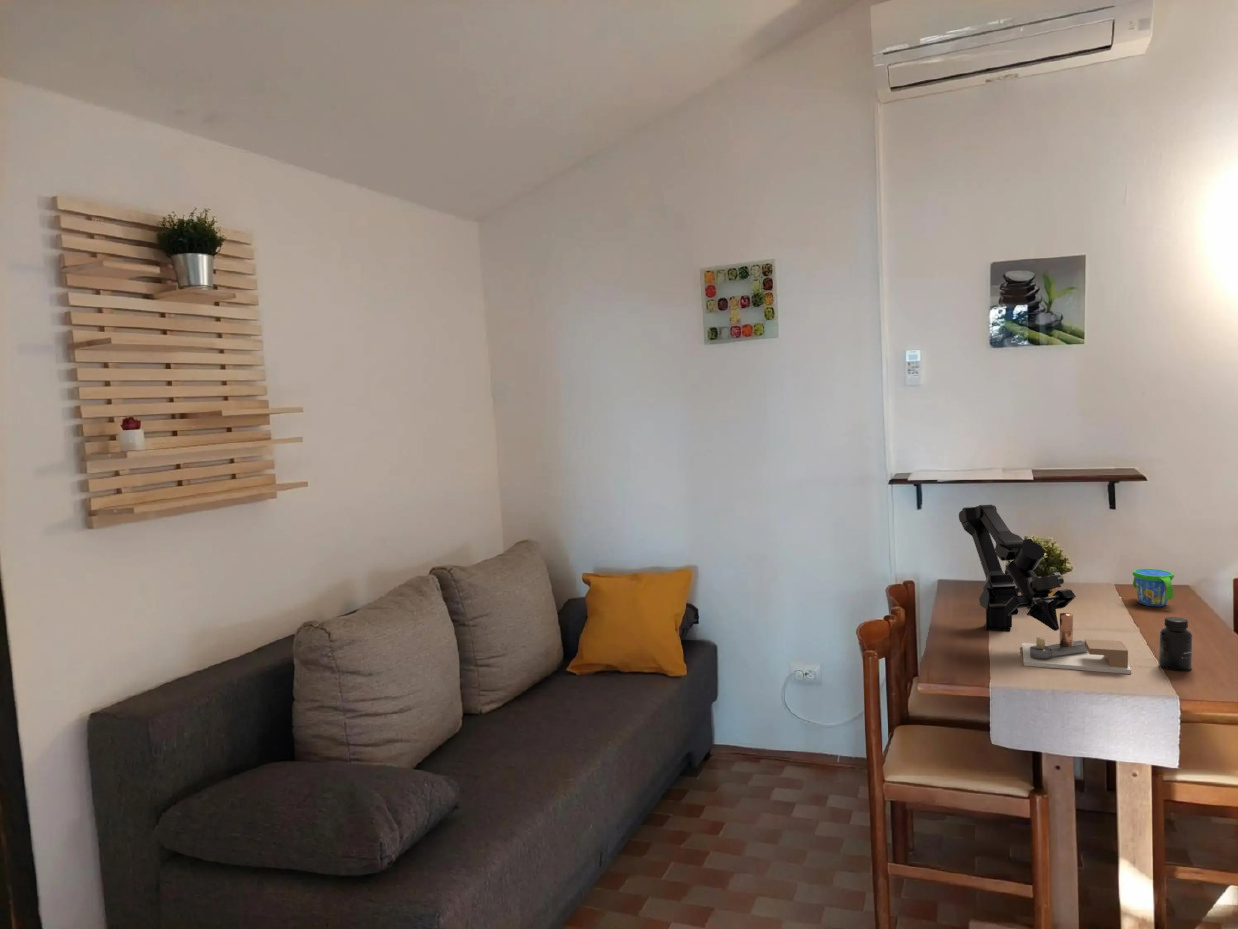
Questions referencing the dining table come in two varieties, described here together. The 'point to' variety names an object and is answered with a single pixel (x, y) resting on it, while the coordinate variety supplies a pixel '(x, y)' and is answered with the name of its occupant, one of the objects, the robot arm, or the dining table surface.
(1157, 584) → the snack cup
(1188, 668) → the supplement bottle
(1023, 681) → the dining table surface
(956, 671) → the dining table surface
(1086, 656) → the base
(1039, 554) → the robot arm
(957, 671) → the dining table surface
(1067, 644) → the link
